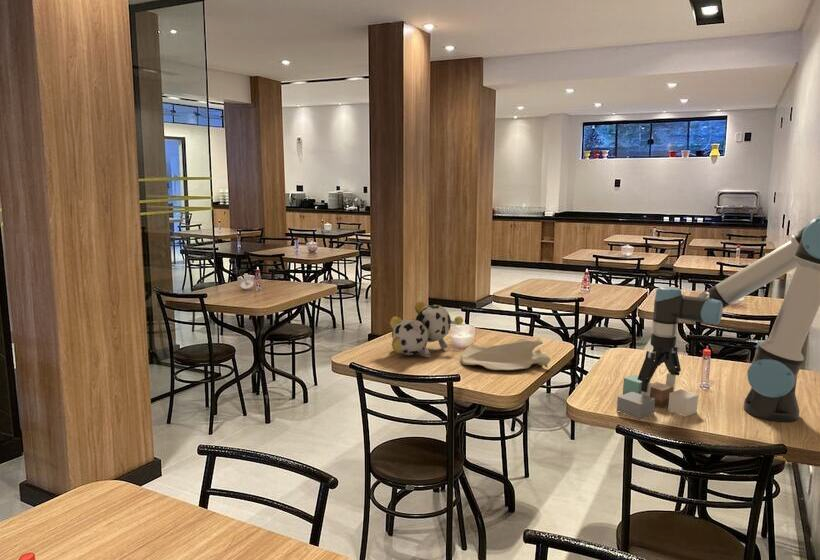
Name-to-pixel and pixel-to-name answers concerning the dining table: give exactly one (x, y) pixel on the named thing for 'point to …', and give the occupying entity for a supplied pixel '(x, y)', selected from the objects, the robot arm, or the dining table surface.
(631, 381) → the teal cube
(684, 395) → the white cube
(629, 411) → the platform block
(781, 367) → the robot arm
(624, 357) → the dining table surface
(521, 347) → the beige wavy platter
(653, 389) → the walnut cube
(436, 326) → the toy
